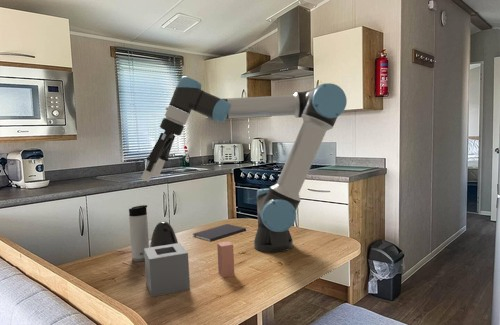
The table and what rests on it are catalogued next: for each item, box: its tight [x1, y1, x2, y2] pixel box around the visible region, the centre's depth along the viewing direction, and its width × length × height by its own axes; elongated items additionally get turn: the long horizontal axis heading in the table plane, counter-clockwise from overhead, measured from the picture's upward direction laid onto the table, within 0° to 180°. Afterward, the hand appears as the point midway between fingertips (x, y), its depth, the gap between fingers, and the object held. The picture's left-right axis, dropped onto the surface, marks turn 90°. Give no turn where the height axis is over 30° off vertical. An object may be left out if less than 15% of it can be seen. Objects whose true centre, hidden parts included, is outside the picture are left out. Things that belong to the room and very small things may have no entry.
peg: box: [216, 240, 235, 278], centre depth 121 cm, size 4×4×10 cm
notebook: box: [192, 223, 247, 242], centre depth 169 cm, size 13×2×21 cm
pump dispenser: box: [149, 221, 179, 248], centre depth 132 cm, size 10×10×15 cm
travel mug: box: [128, 204, 150, 263], centre depth 138 cm, size 6×7×20 cm
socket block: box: [144, 242, 191, 298], centre depth 113 cm, size 11×11×11 cm
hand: (150, 178), depth 129 cm, fingers open, 13 cm apart
